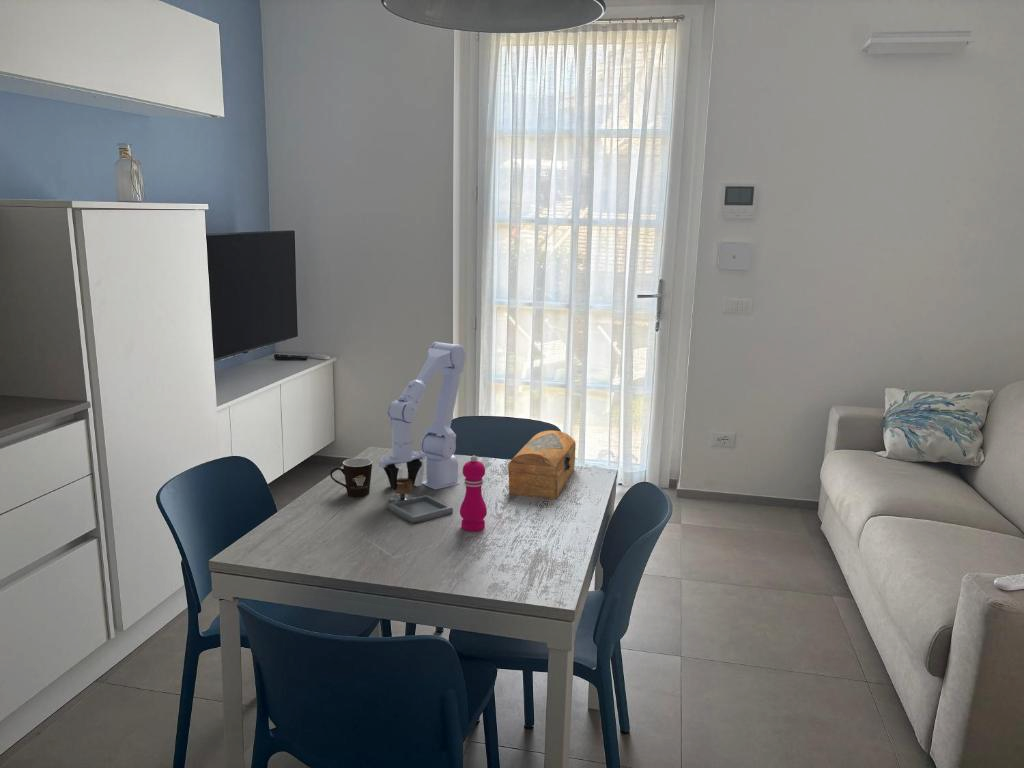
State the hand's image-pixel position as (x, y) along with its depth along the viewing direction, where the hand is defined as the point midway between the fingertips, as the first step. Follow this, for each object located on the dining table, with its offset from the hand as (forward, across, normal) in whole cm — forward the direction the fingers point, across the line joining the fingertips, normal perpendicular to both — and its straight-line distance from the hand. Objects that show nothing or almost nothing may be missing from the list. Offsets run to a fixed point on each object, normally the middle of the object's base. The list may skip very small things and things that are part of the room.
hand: (402, 486), depth 230 cm
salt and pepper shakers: (+4, -7, -10) cm, 13 cm away
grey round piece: (+4, 0, 0) cm, 4 cm away
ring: (+1, 0, 0) cm, 1 cm away
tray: (+4, +1, +11) cm, 12 cm away
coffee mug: (+4, +9, -13) cm, 16 cm away
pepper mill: (+4, -4, +29) cm, 30 cm away
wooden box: (+5, -45, +12) cm, 47 cm away
